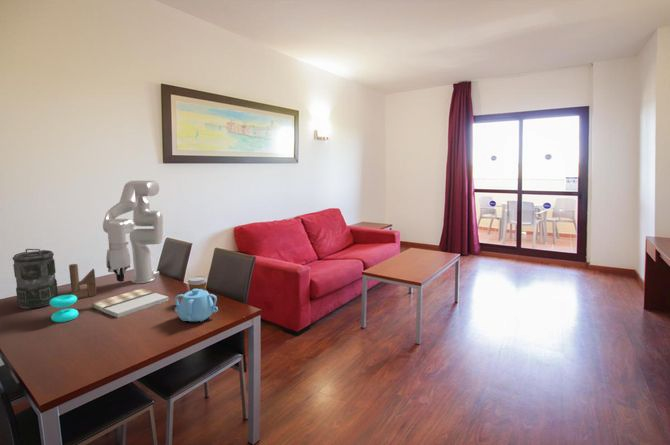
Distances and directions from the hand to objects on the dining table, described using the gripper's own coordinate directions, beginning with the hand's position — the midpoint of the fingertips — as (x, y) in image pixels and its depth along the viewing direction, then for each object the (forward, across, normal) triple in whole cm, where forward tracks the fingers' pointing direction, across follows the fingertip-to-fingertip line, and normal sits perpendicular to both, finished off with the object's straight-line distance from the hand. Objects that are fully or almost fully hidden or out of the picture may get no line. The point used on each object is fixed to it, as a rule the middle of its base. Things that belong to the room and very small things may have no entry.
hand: (120, 280), depth 189 cm
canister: (+11, +24, -30) cm, 40 cm away
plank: (+10, 0, +2) cm, 10 cm away
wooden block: (+11, +7, -22) cm, 26 cm away
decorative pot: (+10, -6, +50) cm, 51 cm away
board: (+10, 0, +14) cm, 17 cm away
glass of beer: (+11, -21, +33) cm, 40 cm away
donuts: (+10, +26, +1) cm, 28 cm away
